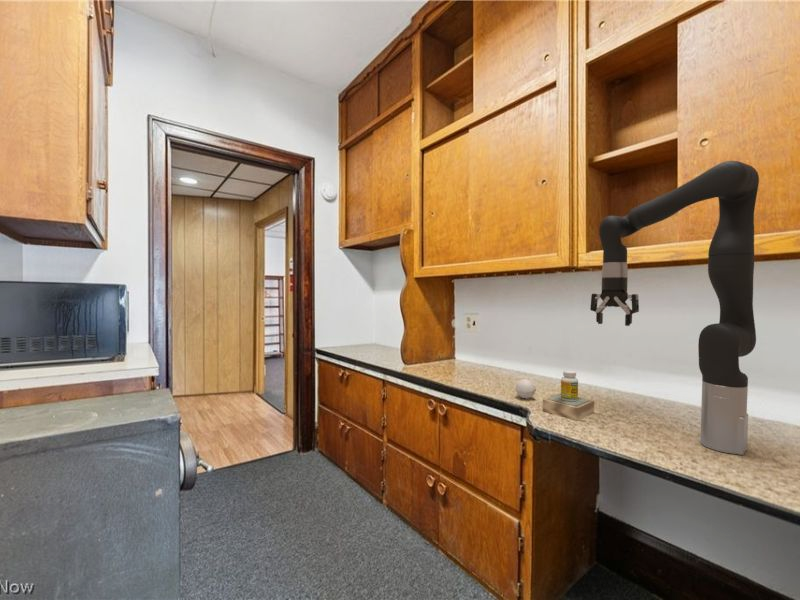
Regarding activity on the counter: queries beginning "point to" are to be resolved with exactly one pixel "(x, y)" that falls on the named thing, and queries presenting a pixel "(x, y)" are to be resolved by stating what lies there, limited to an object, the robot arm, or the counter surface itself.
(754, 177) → the robot arm
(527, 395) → the white egg shape
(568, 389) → the supplement bottle
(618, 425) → the counter surface
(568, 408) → the oak riser
